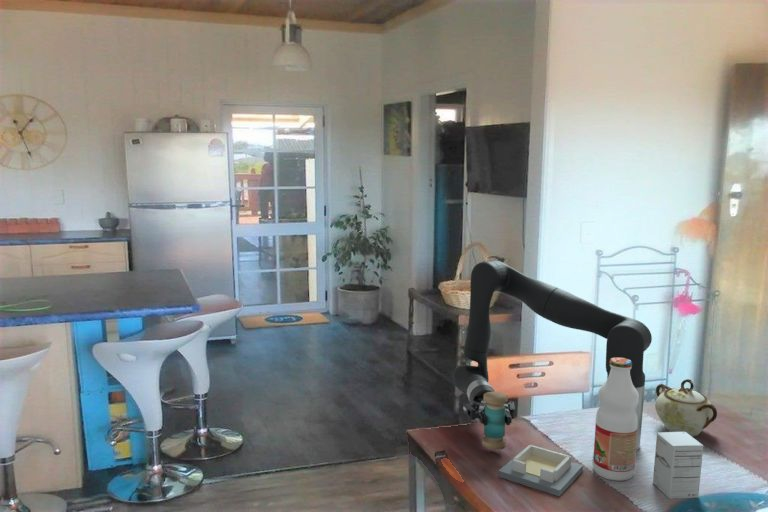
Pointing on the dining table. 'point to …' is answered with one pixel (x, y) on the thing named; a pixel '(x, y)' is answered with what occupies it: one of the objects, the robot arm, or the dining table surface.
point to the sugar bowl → (684, 409)
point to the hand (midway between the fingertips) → (497, 421)
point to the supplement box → (677, 464)
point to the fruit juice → (616, 424)
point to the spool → (495, 420)
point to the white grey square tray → (542, 470)
